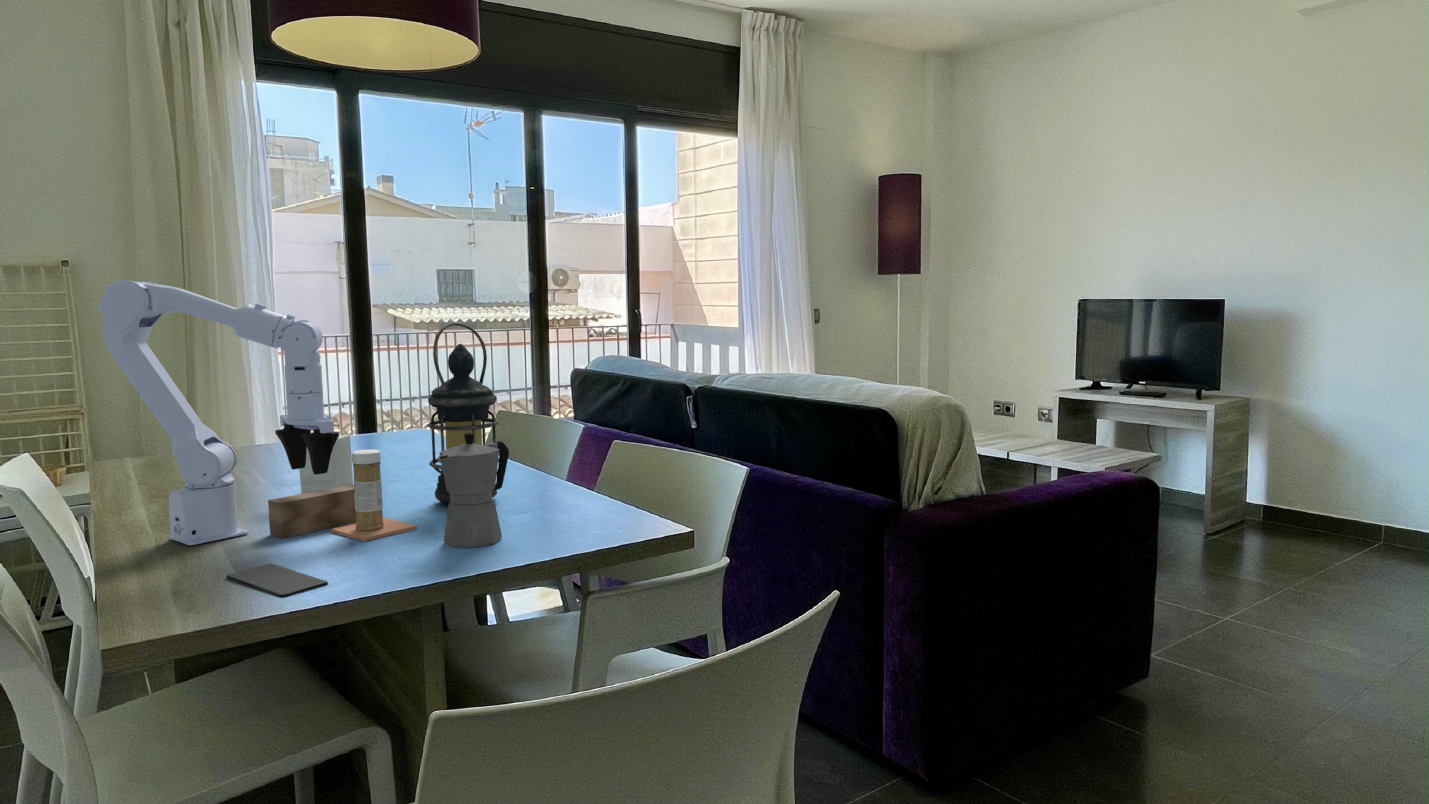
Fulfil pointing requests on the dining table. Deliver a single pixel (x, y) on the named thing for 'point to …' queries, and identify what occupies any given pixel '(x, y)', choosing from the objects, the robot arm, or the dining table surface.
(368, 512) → the sprinkles bottle
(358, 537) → the pad
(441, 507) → the dining table surface
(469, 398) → the lantern
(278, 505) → the long brown wooden block
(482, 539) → the coffeepot
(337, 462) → the supplement box
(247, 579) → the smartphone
